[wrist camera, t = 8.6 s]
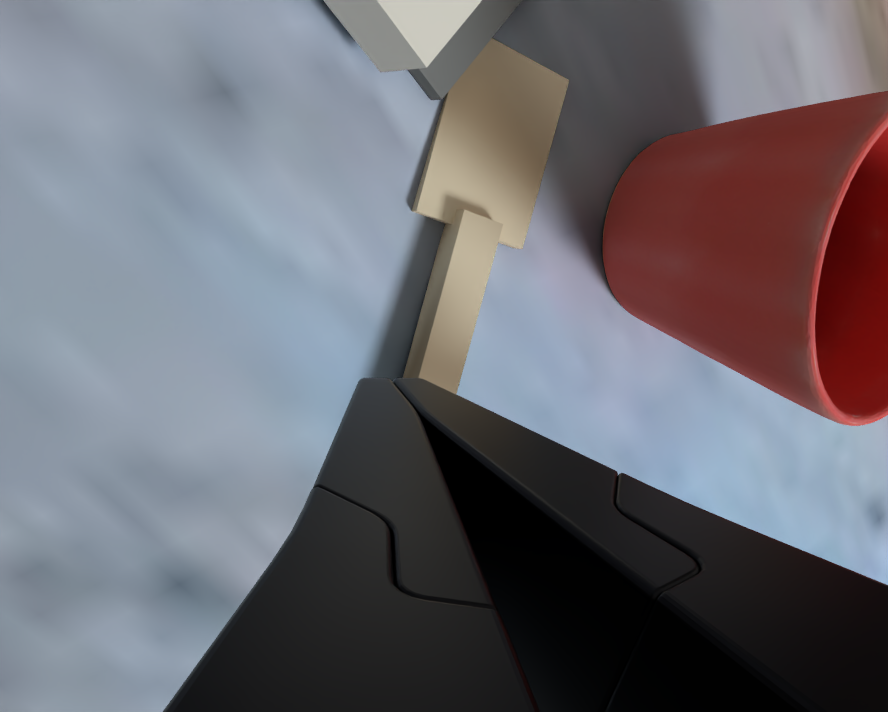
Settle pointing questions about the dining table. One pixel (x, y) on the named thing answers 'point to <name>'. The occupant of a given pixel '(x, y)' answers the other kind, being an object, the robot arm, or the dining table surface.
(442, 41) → the tile
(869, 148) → the flower pot
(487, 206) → the spatula
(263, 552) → the dining table surface
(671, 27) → the dining table surface
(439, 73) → the mat
